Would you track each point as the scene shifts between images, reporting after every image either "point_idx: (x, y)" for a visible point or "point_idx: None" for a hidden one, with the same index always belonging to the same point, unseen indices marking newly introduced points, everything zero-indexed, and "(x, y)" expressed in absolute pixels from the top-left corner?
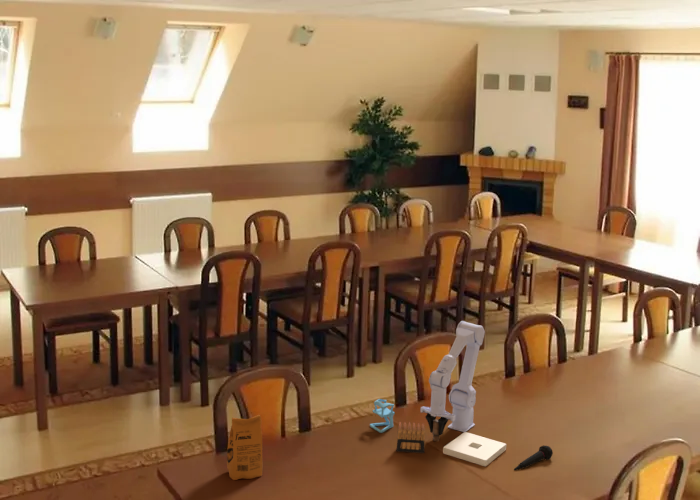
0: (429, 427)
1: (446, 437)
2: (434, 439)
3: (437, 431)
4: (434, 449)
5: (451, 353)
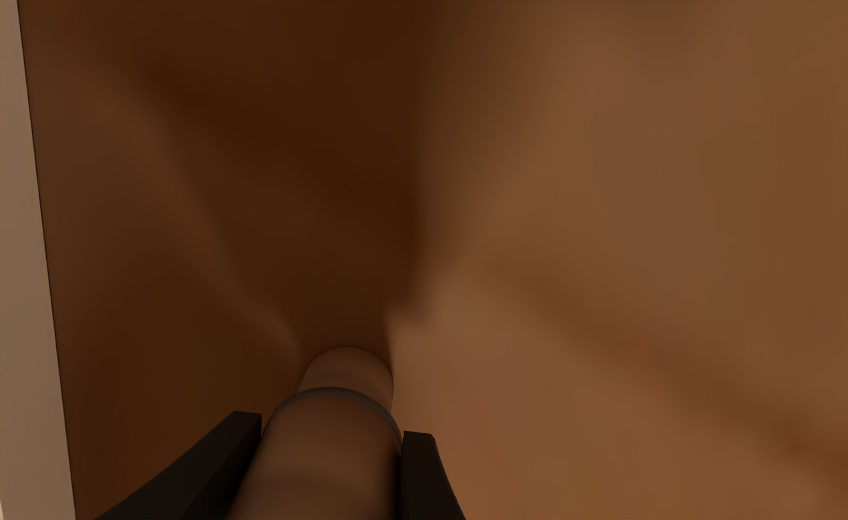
0: (455, 497)
1: None
2: (352, 358)
3: (269, 451)
4: (216, 65)
5: None
